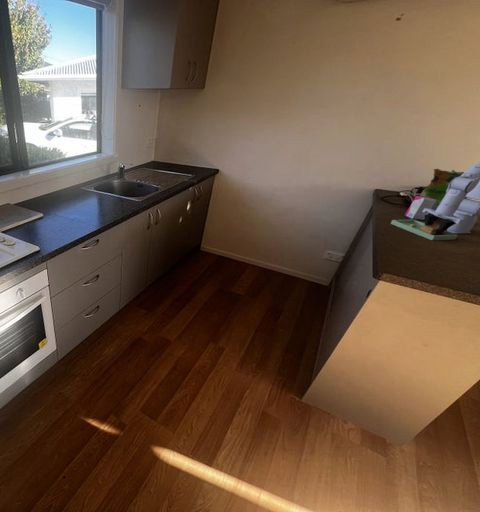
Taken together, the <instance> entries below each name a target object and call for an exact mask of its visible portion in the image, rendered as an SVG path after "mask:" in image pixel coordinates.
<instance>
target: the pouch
mask: <svg viewBox="0 0 480 512" xmlns="http://www.w3.org/2000/svg"><path fill="white" fill-rule="evenodd" d="M464 172H465V171H456V170H454V169H452V170H451V171H448V170H442V169H439V168H435V169H433V178H432V179H431V180H430V183H429V184H428V185H427V186H425V187H424V189H423V190H421V191H422V192H420V195H419V196H424V197H430V198H433V199H435V200H436V202H435V203H434V205H433V206H432V208H431V209H433V210H436V209H437V208H438V206H439V204H440V203H441V201H442V200H443V198H444V197H445V195H446V191H447V189H448V185H449V183H450V182H451V181H452V180H453V179H454V178H455V177H460V176H461V175H462V174H463V173H464Z"/></svg>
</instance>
